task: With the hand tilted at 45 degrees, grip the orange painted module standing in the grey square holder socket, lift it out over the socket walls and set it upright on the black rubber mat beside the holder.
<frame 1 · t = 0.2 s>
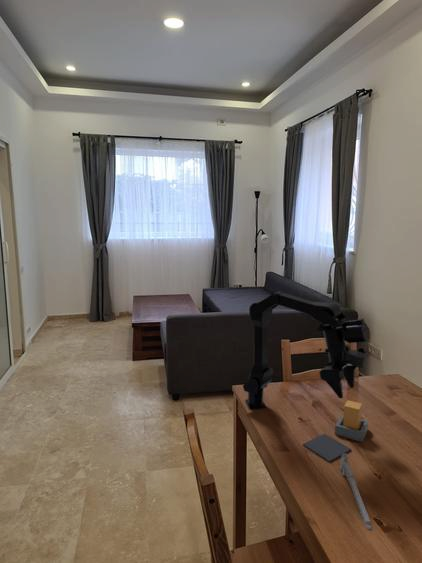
hand: (346, 392, 118), 15 cm above the table, tool tilted 15°, fingers open, 9 cm apart
grey square holder: (351, 431, 124), on the table
mat: (326, 447, 115), on the table
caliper: (354, 498, 95), on the table
module: (352, 418, 123), in the grey square holder
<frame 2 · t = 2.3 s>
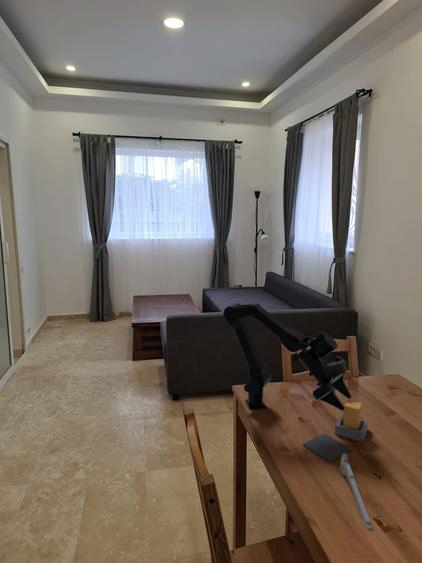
hand: (346, 403, 123), 9 cm above the table, tool tilted 45°, fingers open, 9 cm apart
nothing on the table moved.
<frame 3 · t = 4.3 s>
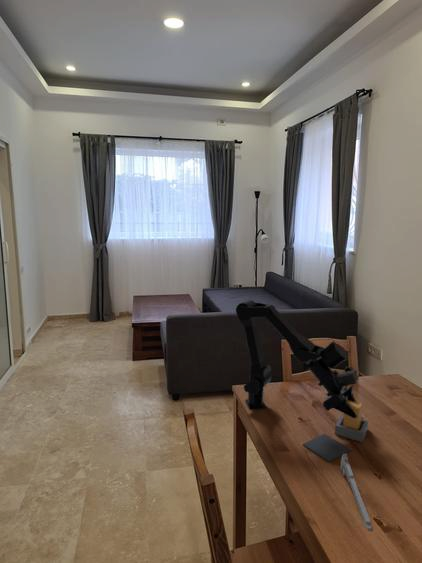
hand: (357, 414, 122), 7 cm above the table, tool tilted 45°, fingers closed on module, 4 cm apart
module: (352, 418, 123), in the grey square holder, touching gripper
everything else where it was.
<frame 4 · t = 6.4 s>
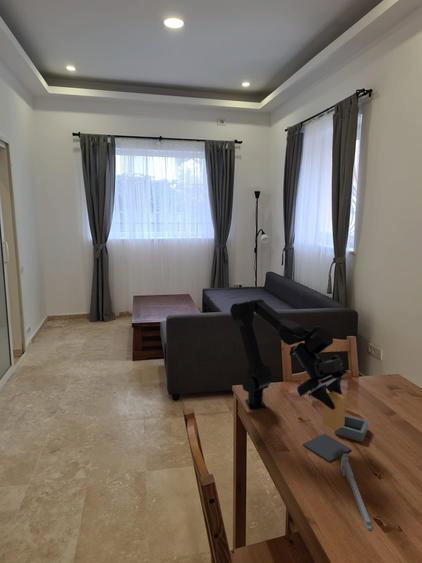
hand: (338, 406, 113), 13 cm above the table, tool tilted 45°, fingers closed on module, 4 cm apart
module: (334, 410, 114), point 12 cm above the table, touching gripper
everything else where it was.
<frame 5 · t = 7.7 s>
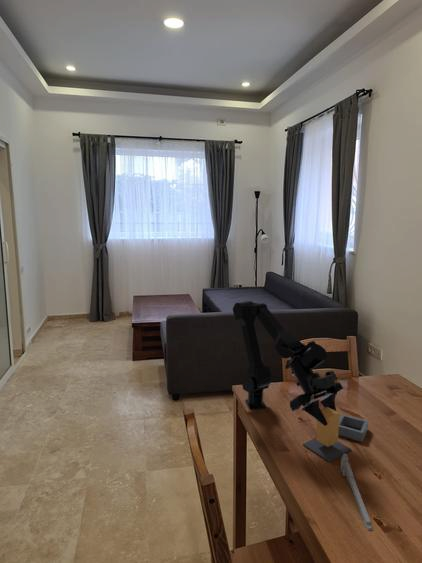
hand: (331, 422, 112), 9 cm above the table, tool tilted 45°, fingers closed on module, 4 cm apart
module: (327, 426, 114), point 7 cm above the table, touching gripper
everything else where it was.
when the fingers open (8 cm above the table, at t = 8.7 s): module stays where it is, resting on mat.
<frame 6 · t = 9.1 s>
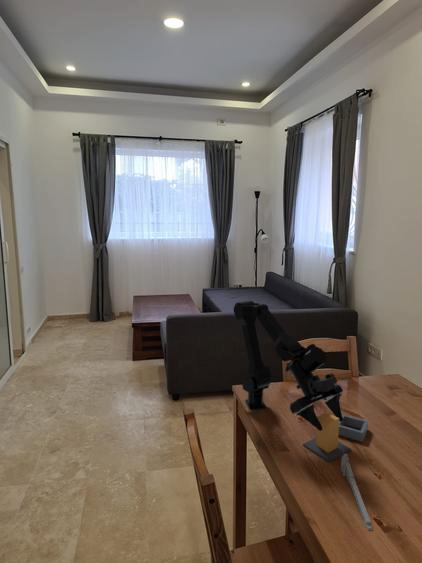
hand: (331, 425, 112), 8 cm above the table, tool tilted 45°, fingers open, 9 cm apart
module: (327, 432, 114), on the mat
everything else where it was.
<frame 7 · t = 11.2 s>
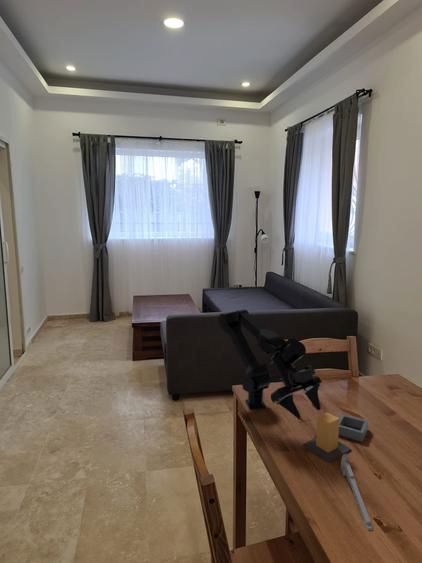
hand: (309, 413, 119), 8 cm above the table, tool tilted 45°, fingers open, 9 cm apart
nothing on the table moved.
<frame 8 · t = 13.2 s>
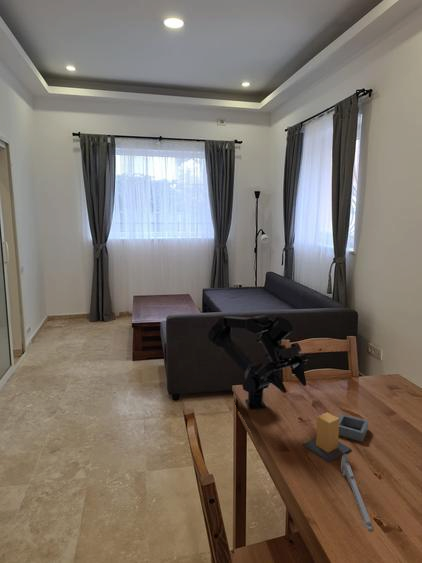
hand: (295, 388, 124), 14 cm above the table, tool tilted 45°, fingers open, 9 cm apart
nothing on the table moved.
at the end: module 0.0 cm off-centre on the mat, point 5.2 cm above the mat's base; module tilted 0°; the gripper is holding nothing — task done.
